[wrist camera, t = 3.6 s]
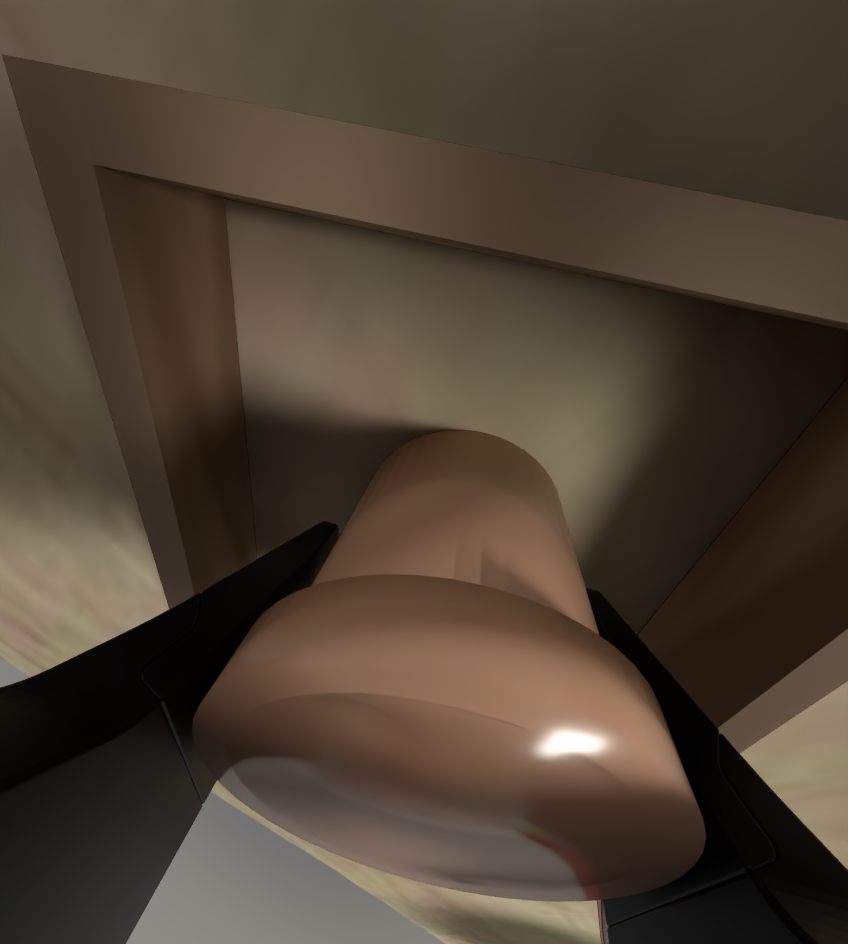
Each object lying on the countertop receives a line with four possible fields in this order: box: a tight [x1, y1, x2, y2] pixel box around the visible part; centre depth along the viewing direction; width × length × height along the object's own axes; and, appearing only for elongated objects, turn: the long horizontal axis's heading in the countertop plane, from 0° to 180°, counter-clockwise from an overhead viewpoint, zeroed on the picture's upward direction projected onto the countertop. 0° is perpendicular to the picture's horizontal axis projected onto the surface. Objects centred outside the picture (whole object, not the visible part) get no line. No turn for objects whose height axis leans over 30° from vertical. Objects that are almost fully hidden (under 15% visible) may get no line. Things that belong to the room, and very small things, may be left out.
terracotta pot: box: [192, 430, 706, 901], centre depth 8 cm, size 7×7×7 cm
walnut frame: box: [2, 55, 848, 753], centre depth 10 cm, size 16×16×4 cm
